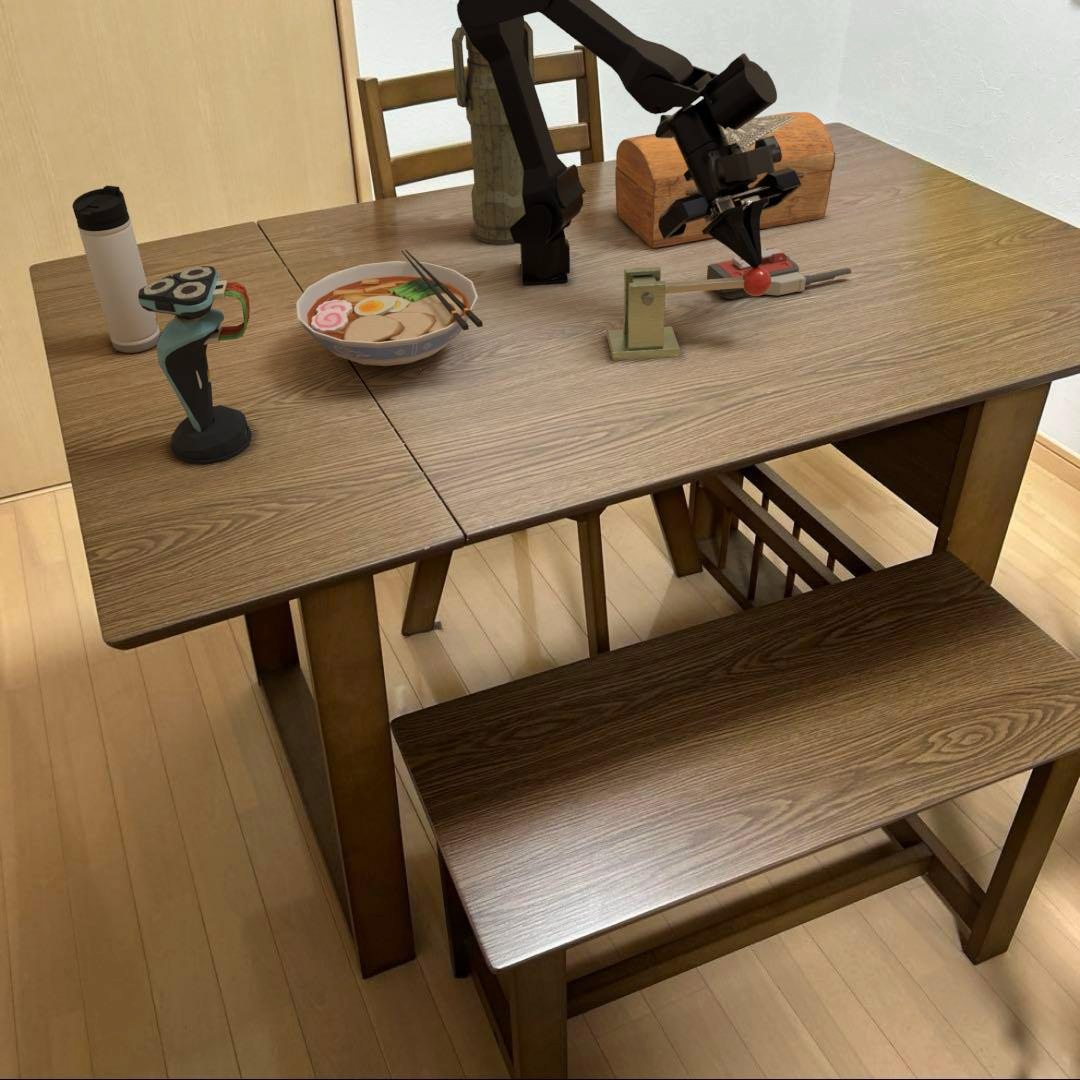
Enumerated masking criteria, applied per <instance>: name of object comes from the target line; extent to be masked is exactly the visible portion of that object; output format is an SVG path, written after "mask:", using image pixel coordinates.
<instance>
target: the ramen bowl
mask: <svg viewBox="0 0 1080 1080" xmlns="http://www.w3.org/2000/svg"><path fill="white" fill-rule="evenodd" d="M404 250H405V252H406V253H405V252H404V251H403V250H401V251H400V252H401V253H402V255H403V256H404V258H406V260H407V261H402V260H392V261H383V262H374V263H366V264H365V263H364V264H360V265H356V266H352V267H349V268H346V269H343V270H340V271H336V272H332V273H330V274H328V275H326V276H324V277H322V279H319V280H317V281H315V282H314V283H312V284H310V285H309V286H307V287H306V289H305V290H304V291H303V293H302V294H301V295H300V297H299V298H298V300H297V301H296V302H295V304H296V305H295V306H296V318H297V320H298V322H299V323H300V324H301V326H302V327H303V328H304V329H305V330H306V331H307V332H308V333H309V334H310V335H311V336H312V338H314V339H315V340H316V341H318V342H319V343H320V344H321V345H322V346H323V347H324V348H325V349H327V350H328V351H329V352H331V353H332V354H334V356H337V357H339V358H342V359H345V360H348V361H350V362H351V361H352V362H354V363H358V364H361V365H364V366H380V367H390V366H396V365H399V366H400V365H406V364H412V363H415V362H417V361H419V360H423V359H426V358H428V357H431V356H433V355H435V354H437V353H438V352H440V351H441V350H442V349H443V348H445V347H446V346H448V345H450V344H451V343H452V342H453V341H455V339H456V338H457V337H458V336H459V335H460V333H461V332H462V330H463V331H469V329H470V327H469V324H468V320H470V321H471V322H472V323H473V324H474V325H475V326H476V327H477V328H481V327H483V321H482V320H481V319H480V318H479V317H478V316H477V315H476V314H475V313H474V312H473V310H474V307H475V305H476V302H477V301H478V298H479V295H478V293H477V290H476V287H475V284H474V282H473V280H471V279H470V278H468V277H466V276H464V275H463V274H461V273H460V272H458V271H457V270H455V269H452V268H449V267H446V266H441V265H437V264H434V263H430V262H423V261H419V260H418V259H416V257H415V256H413V255H412V254H411V253H410V252H409V251H408V250H407V249H404ZM410 257H411V259H410ZM412 260H413V261H412Z"/></svg>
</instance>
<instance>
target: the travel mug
mask: <svg viewBox="0 0 1080 1080" xmlns="http://www.w3.org/2000/svg"><path fill="white" fill-rule="evenodd" d="M125 199H126V198H125V195H124V192H123V191H121V189H120V186H116V185H105V186H103V188H97V189H93V190H90V191H87V192H84V193H83V194H81V195H79V196H78V197H76V198H75V199H74V200H73V202H72V205H71V207H72V210H73V213H74V217H75V219H76V224H77V229H78V231H79V235H80V240H81V242H82V246H83V249H84V253H85V255H86V260H87V263H88V267H89V269H90V273H91V277H92V280H93V283H94V287H95V291H96V293H97V297H98V301H99V303H100V307H101V310H102V314H103V317H104V321H105V324H106V328H107V330H108V333H109V336H110V337H109V338H110V341H111V344H112V347H113V348H114V349H115V350H116V351H118V352H121V353H125V354H135V353H142V352H145V351H148V350H150V349H152V348H155V347H157V341H158V338H159V336H160V334H161V329H160V326H159V323H158V319H157V315H156V312H151V311H147V310H146V309H144V308H142V306H141V305H140V303H139V300H138V294H139V290H140V289H141V288H143V287H145V286H147V285H149V284H148V280H147V277H146V273H145V269H144V266H143V261H142V257H141V254H140V250H139V247H138V243H137V239H136V235H135V231H134V227H133V224H132V220H131V216H130V215H129V211H128V206H127V203H126V200H125Z"/></svg>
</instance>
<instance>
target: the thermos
mask: <svg viewBox="0 0 1080 1080" xmlns="http://www.w3.org/2000/svg"><path fill="white" fill-rule="evenodd" d="M464 37H465V50H467V59H466V66H467V67H466V73H465V65H464V52H463V51H464V49H463V40H464ZM451 50H452V61H453V63H452V64H453V75H454V88H455V89H454V90H455V91H454V92H455V97H456V98H455V99H456V103H457V106H458V107H460V108H465V114H466V117H465V118H466V120H467V122H468V124H469V126H470V128H469V129H470V141H471V158H472V173H473V186H472V189H471V193H470V196H471V210H472V211H471V212H472V220H473V222H474V236H475V237H476V239H477V240H478V241H480V242H483V243H486V244H489V245H490V244H491V245H512V244H516V243H515V242H514V241H513V238H512V235H511V232H510V227H512V226H513V225H514V224H515V223H516V222H517V221H518V220H519V219H520V218H521V217H522V216H523V215H524V214H525V209H524V204H523V198H522V185H523V166H522V163H521V160H520V157H519V154H518V151H517V148H516V145H515V142H514V139H513V136H512V133H511V130H510V127H509V124H508V121H507V118H506V115H505V112H504V109H503V106H502V103H501V100H500V97H499V94H498V91H497V88H496V85H495V82H494V79H493V76H492V73H491V70H490V67H489V64H488V62H487V61H486V59H485V58H484V57H483V56H482V55H481V54H480V53H479V52H478V51H477V50H476V48H475V47H474V46H473V45H472V44H471V43H470V41H469V39H468V37H467V35H466V32H465V30H464V28H463V26H462V24H460V27H456V29H455V30H454V33H453V35H452V38H451ZM523 51H524V54H525V57H526V60H527V63H528V67H529V70H530V73H531V76H532V79H533V82H534V86H535V57H534V56H535V55H534V31H533V28H532V27H531V26H530V25H529V23H528V21H526V20H525V19H524V36H523ZM535 87H536V86H535Z"/></svg>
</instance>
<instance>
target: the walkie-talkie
mask: <svg viewBox="0 0 1080 1080" xmlns="http://www.w3.org/2000/svg"><path fill="white" fill-rule="evenodd" d="M761 252H762V264H761V265H759V267H763V268H765V269H766V270H767V271H768V272H769V274H770V276H771V285H770V288H769V289H768V291H767V292H766V293H764V294H763V295H767V296H768V295H769V296H781V295H787V294H792V293H796V292H798V293H799V292H804V291H805V289H806V286H809V285H812V284H815V283H820V282H823V281H830V280H834V279H835V278H836V277H840V276H844V275H849V274H852V269H851V268H849V267H846V268H842V269H837V270H832V271H827V272H822V273H817V274H812V275H809V274H807V275H803V274H801V273H800V267H799V265H798V263H796V262H795V261H794V260H792V259H791V258H790V257H789V255H786V254H785V253H784V252H782V250H780V249H779V248H777V247H769V248H766V249H761ZM749 268H751V266H750V265H749V264H748V263H746V262H745V261H744V260H743V259H742V258H740V257H732V259H730V260H725V261H721V262H715V263H710V264H709V265H707V272H706V280H709V279H722V278H735V277H743V275H744V273H745V272H746V271H747V270H748V269H749ZM714 291H716V294H717V296H719V297H721V298H723V299H725V300H734V299H739V298H744V297H749V296H750V295H749V294H748V293H746V292H745V290H744V289H743V288H733V289H721V290H714Z"/></svg>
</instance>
